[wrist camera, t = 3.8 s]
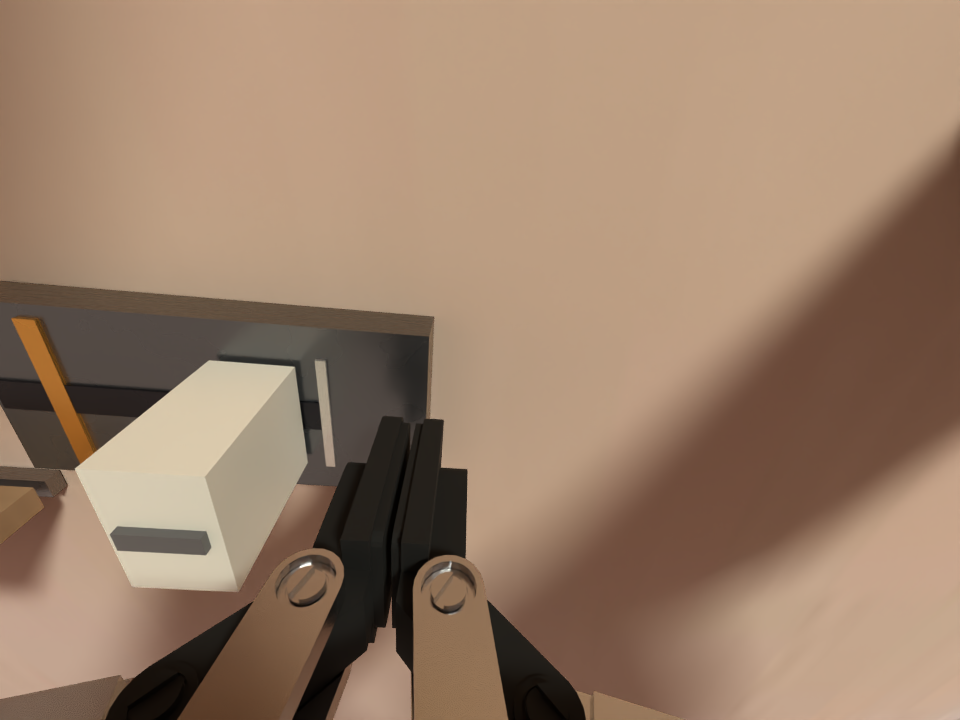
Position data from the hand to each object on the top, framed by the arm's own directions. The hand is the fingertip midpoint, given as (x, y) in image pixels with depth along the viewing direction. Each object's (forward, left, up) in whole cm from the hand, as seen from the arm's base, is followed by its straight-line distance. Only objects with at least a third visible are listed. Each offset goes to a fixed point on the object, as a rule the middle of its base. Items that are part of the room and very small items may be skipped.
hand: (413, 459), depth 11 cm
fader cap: (+5, 0, -1) cm, 5 cm away
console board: (+6, 0, -3) cm, 7 cm away
